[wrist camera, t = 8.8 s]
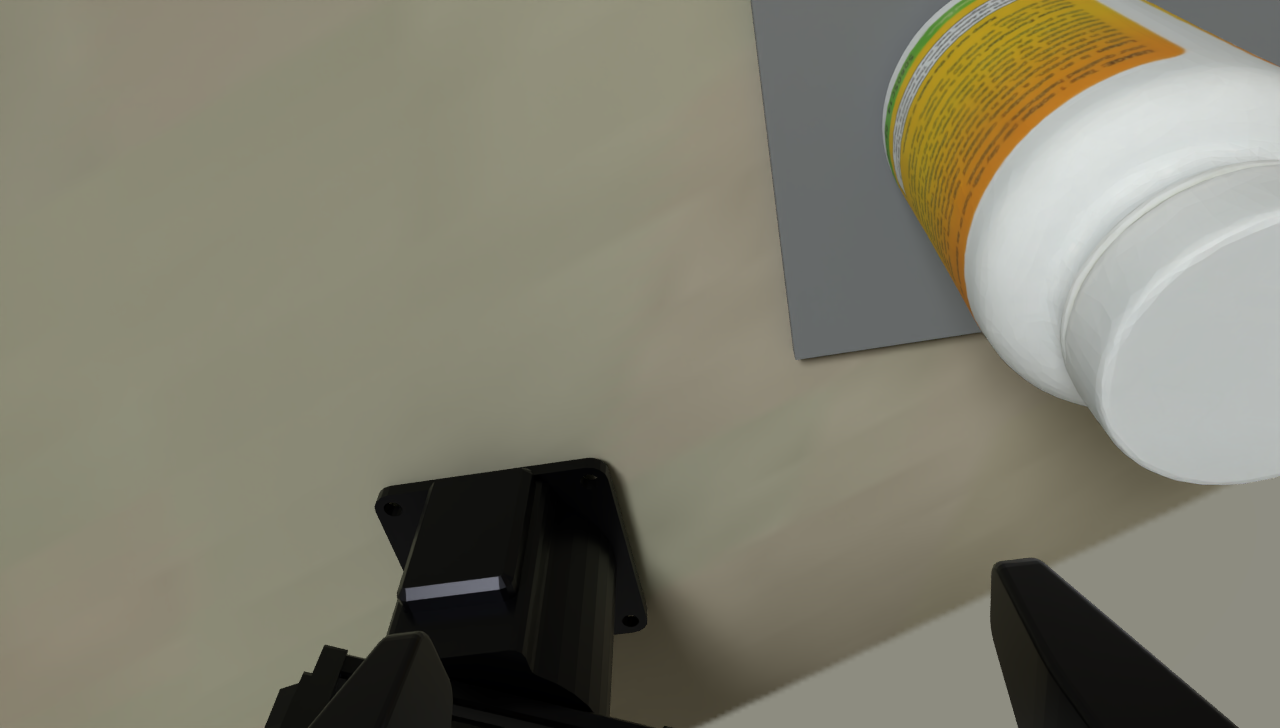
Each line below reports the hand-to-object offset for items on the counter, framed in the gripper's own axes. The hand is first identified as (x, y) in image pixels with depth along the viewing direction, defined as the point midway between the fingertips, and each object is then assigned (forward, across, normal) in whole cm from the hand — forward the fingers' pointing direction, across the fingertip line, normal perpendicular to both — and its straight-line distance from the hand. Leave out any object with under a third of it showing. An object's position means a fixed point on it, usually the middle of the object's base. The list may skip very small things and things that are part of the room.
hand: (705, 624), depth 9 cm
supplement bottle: (+13, -7, 0) cm, 15 cm away
